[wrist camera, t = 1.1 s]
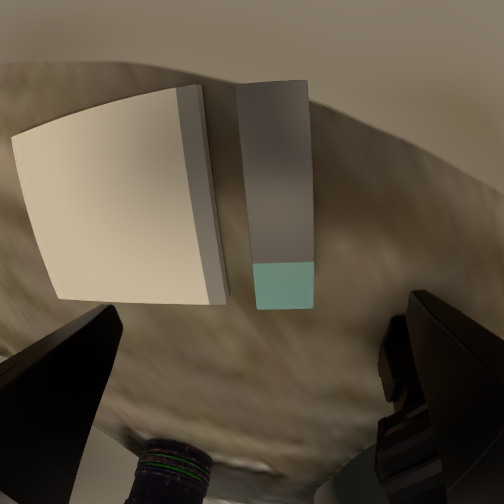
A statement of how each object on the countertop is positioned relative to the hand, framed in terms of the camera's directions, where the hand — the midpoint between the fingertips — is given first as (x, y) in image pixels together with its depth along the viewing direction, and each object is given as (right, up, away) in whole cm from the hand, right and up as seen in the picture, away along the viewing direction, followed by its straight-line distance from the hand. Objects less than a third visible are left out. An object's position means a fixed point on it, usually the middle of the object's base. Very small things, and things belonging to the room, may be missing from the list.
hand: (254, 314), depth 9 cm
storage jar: (-10, -26, +27) cm, 39 cm away
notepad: (-10, +5, +11) cm, 16 cm away
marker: (+2, +5, +10) cm, 11 cm away
